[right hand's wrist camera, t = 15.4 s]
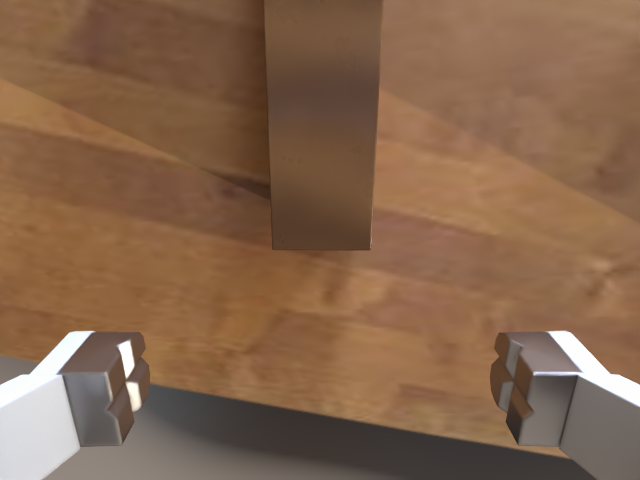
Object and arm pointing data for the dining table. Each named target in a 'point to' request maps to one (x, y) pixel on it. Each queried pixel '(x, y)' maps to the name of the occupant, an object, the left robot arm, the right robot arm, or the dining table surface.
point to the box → (322, 120)
